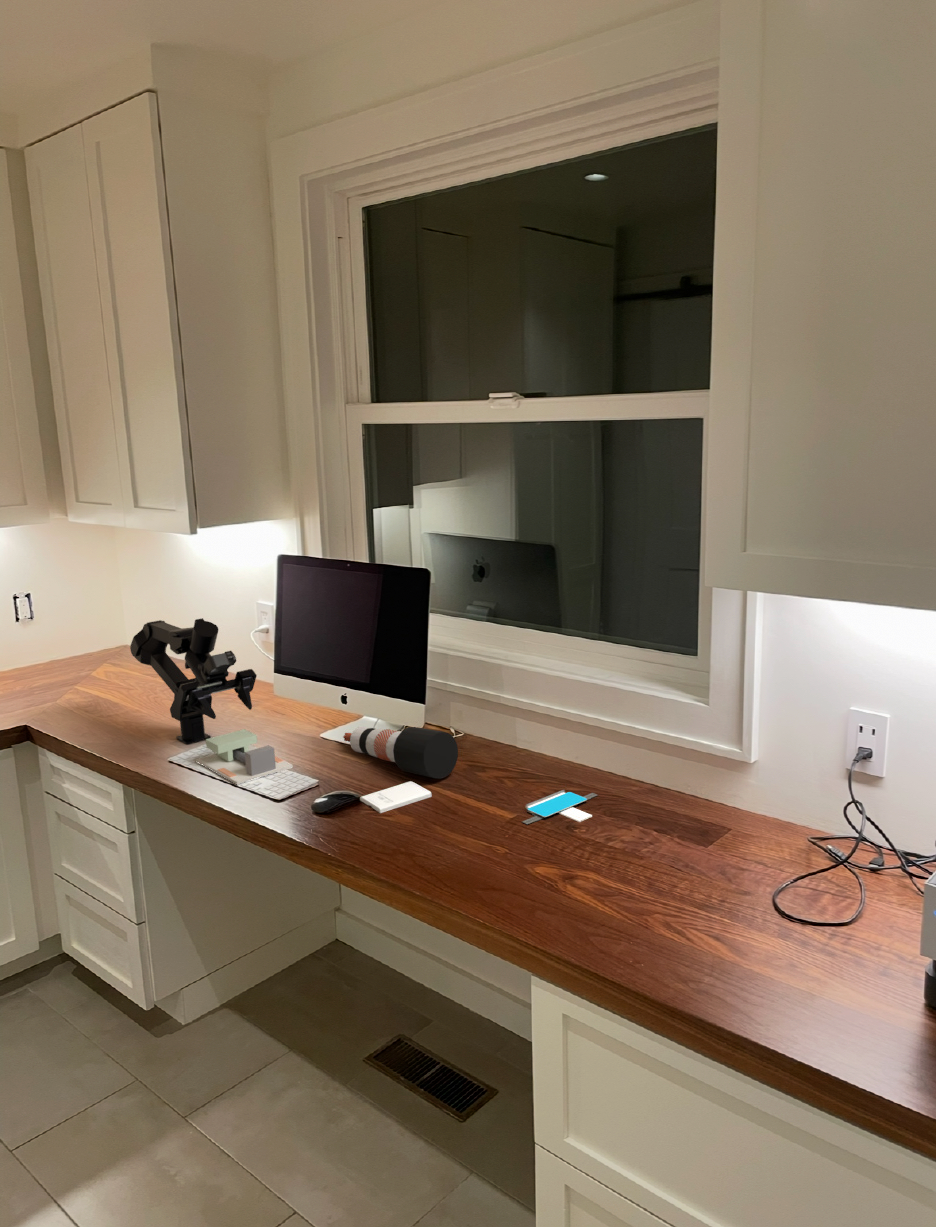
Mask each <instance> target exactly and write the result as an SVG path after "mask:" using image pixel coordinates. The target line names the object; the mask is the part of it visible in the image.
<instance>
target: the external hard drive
mask: <svg viewBox="0 0 936 1227" xmlns="http://www.w3.org/2000/svg"><path fill="white" fill-rule="evenodd" d="M432 795H433V794H432V792H431V791H430V790H428V789H426V788H424V787H423V786H421V785H419V784H417V783H415V782H413V781H411V780H410V781H406V782H404V783H401V784H398V785H394V786H391V787H388V788H385V789H384V788H383V789H381V790H379V791H374V792H372V793H369V794H366V795H362V796H360V797H359V801H360V802H362V803H364V804H365V805H367V806H369V807H371V808H372V809H373V810H375V811H376V812H378V813H379V814H382V813H385V812H387V811H391V810H394V809H398V808H401V807H404V806H407V805H410V804H413V803H417V802H419V801H422V800H426V799H429V798H432Z"/></svg>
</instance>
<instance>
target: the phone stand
mask: <svg viewBox="0 0 936 1227" xmlns="http://www.w3.org/2000/svg"><path fill="white" fill-rule="evenodd" d="M597 796H598V794H596V793H595V792H591V793H588V794H587V795H583V796H582V795H579V794H576V793H574V792H571V791H568V792H565V789H562V790H559V791H556V792H554V793H552V794H549V795H547V796H544V797H542V798H539V799H536V800H534V801H532V802H529V803H526V804H525V808H526V811H527V812H528V813H530V814H531V815H532V817H530V818H527V819H526V820H523V821H522V823H524V824H526V825H530V824H531V823H534V822H538V821H540V820H542V819H544V818H547V817H550V816H552V815H555V814H556V813H557V814H559V815H562V816H564V817H566V818H568V819H571V820H573V821H575V822H578V823H581V822H583V821H585V820H587V819H589V818H592V817H593V814H591V813H587V812H586V811H582V810H580V809H577V807H576V808H575V806H577V805H578V804H581V803H583V802H586V801H588V800H591V799H592V798H595V797H597Z"/></svg>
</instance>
